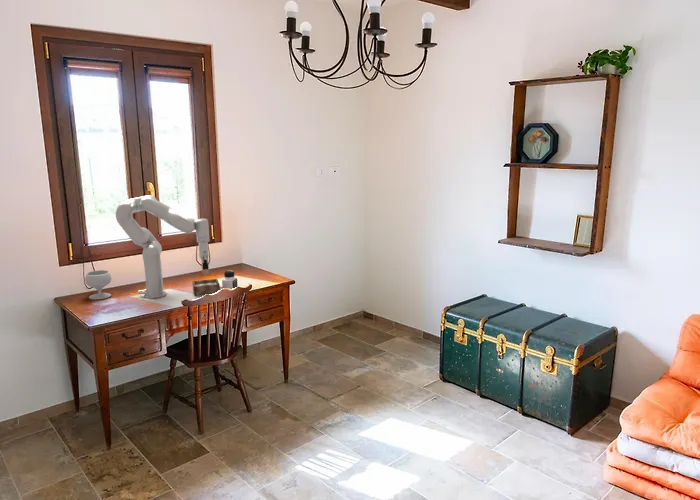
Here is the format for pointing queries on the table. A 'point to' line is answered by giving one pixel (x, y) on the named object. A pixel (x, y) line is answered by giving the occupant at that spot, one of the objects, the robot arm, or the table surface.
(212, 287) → the bore box
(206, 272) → the peg
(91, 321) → the table surface
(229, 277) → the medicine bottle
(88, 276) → the chalice
